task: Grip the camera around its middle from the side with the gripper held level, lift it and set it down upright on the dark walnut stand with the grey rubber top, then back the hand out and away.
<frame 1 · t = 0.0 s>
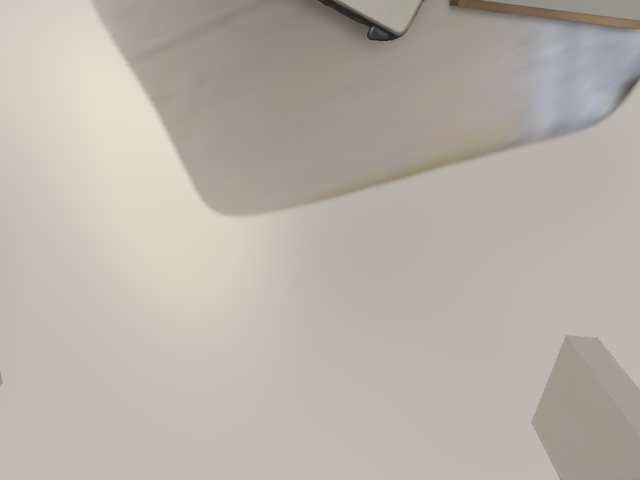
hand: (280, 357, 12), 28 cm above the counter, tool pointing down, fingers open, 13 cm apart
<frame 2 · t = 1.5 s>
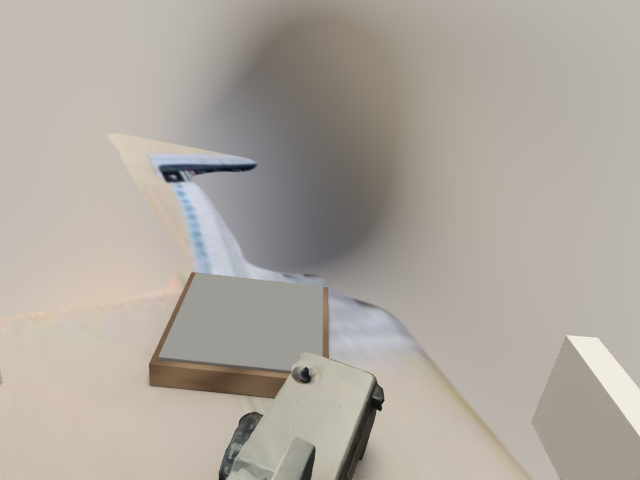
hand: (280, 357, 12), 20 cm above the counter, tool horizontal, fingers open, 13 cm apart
walnut stand: (249, 339, 44), on the counter
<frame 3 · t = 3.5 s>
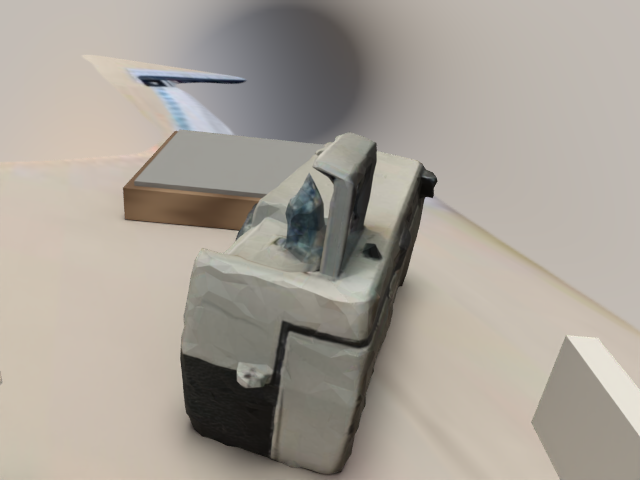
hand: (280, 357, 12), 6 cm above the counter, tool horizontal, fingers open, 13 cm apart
walnut stand: (245, 191, 37), on the counter
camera: (305, 342, 23), on the counter
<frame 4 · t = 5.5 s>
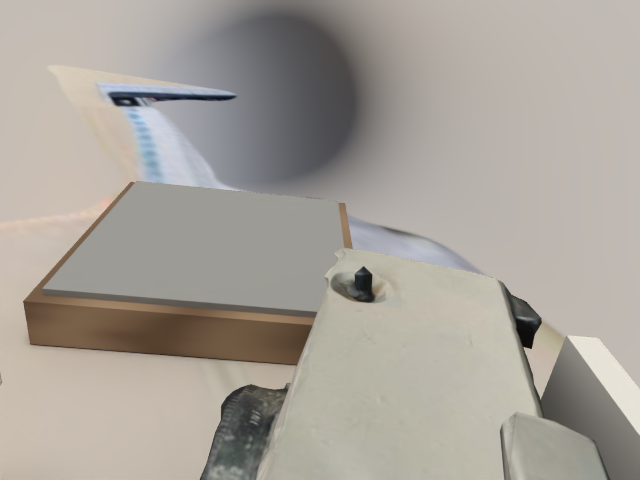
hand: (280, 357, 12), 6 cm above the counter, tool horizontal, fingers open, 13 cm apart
walnut stand: (222, 274, 26), on the counter
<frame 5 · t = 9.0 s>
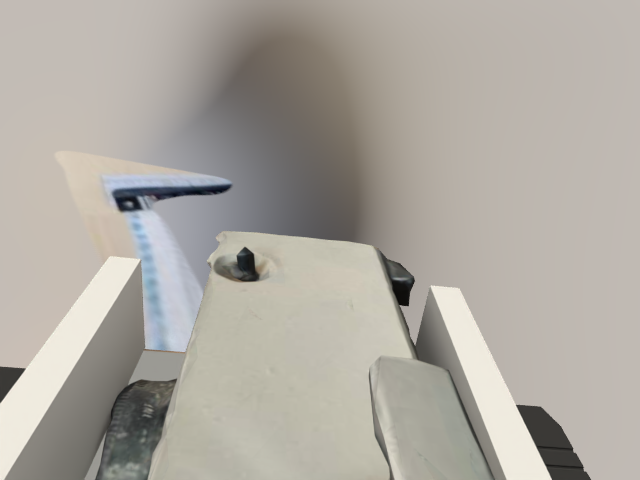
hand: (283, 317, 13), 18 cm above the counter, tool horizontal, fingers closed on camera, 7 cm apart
walnut stand: (214, 451, 31), on the counter
when the fingers open (10 cm above the counter, at t = 12.1 s): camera drops 1 cm, resting on walnut stand.
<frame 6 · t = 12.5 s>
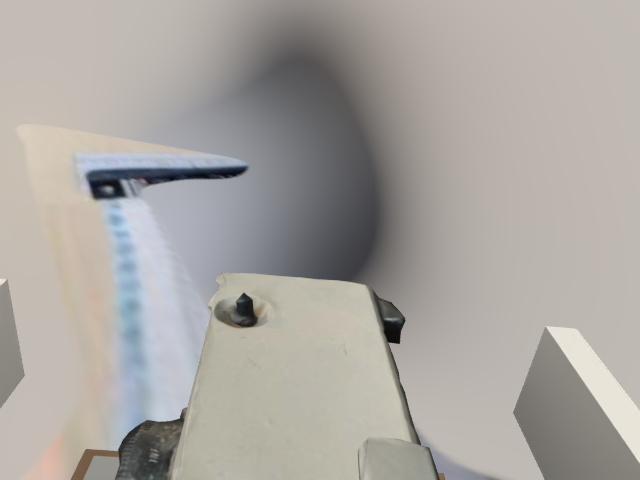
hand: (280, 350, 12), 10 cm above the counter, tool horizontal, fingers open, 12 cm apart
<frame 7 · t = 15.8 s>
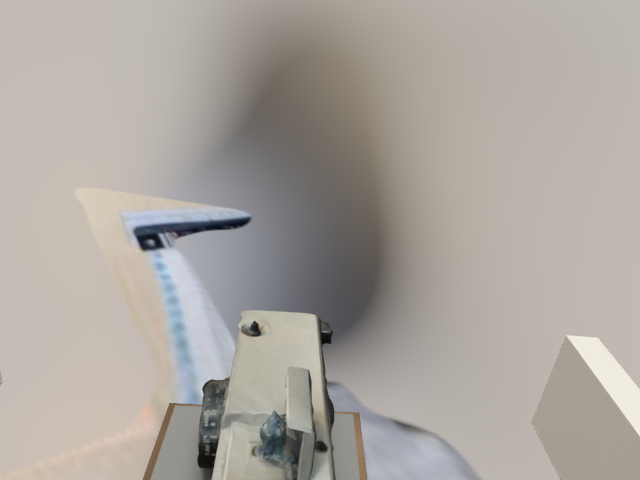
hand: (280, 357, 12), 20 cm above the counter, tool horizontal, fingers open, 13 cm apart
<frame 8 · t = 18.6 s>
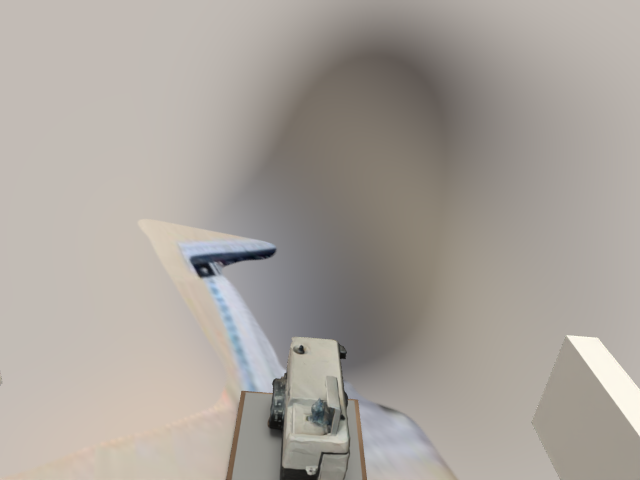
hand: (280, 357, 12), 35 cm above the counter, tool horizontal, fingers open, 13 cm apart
walnut stand: (297, 455, 52), on the counter
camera: (303, 437, 52), point 2 cm above the counter, touching walnut stand
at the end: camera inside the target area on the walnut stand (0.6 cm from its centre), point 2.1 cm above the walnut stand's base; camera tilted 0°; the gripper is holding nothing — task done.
